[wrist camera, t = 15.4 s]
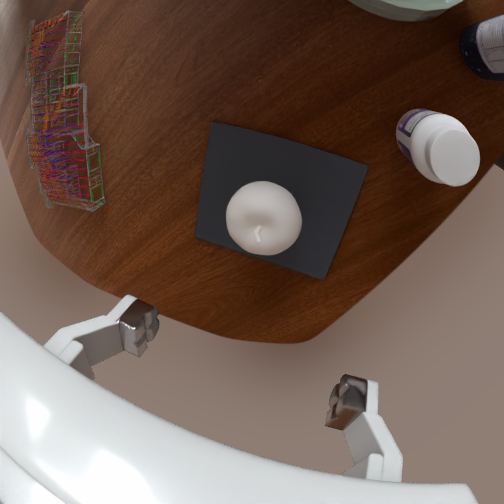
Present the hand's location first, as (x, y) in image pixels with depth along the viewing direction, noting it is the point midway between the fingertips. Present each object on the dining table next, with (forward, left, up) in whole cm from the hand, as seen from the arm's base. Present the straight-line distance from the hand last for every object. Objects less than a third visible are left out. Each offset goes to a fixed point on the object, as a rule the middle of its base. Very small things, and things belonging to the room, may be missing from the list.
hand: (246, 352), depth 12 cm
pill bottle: (-9, -9, -22) cm, 25 cm away
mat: (+3, +3, -22) cm, 22 cm away
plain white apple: (+3, +3, -21) cm, 22 cm away
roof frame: (+34, -3, -22) cm, 40 cm away
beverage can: (-13, -20, -22) cm, 32 cm away
